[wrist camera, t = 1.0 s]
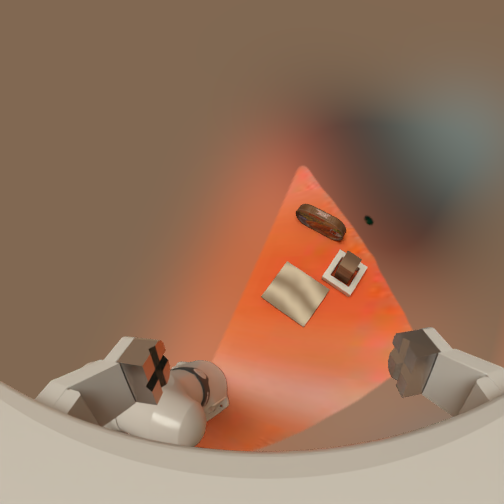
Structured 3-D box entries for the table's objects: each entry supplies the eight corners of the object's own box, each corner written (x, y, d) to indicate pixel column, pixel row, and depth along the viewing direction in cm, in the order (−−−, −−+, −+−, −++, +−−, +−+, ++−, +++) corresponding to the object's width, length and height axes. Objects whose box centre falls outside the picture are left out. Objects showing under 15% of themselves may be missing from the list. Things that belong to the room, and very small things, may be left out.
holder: (348, 296, 69) (350, 295, 67) (321, 278, 73) (322, 276, 70) (365, 270, 71) (367, 267, 68) (338, 252, 74) (340, 249, 71)
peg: (346, 284, 71) (353, 273, 60) (334, 276, 72) (339, 264, 61) (353, 272, 71) (361, 259, 60) (341, 264, 73) (347, 250, 62)
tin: (295, 220, 80) (294, 207, 72) (301, 212, 80) (300, 198, 72) (340, 244, 75) (344, 233, 67) (345, 235, 75) (349, 223, 67)
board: (303, 327, 69) (303, 326, 68) (261, 297, 74) (261, 296, 73) (329, 290, 71) (329, 289, 70) (287, 262, 76) (287, 261, 75)
